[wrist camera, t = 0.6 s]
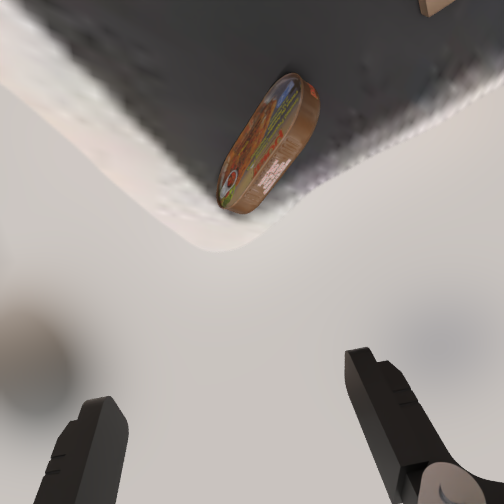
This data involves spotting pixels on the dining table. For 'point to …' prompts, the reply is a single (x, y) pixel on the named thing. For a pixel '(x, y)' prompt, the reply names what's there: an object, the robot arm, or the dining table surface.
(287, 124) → the tin
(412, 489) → the robot arm
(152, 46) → the dining table surface
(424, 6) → the walnut board
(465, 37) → the dining table surface
